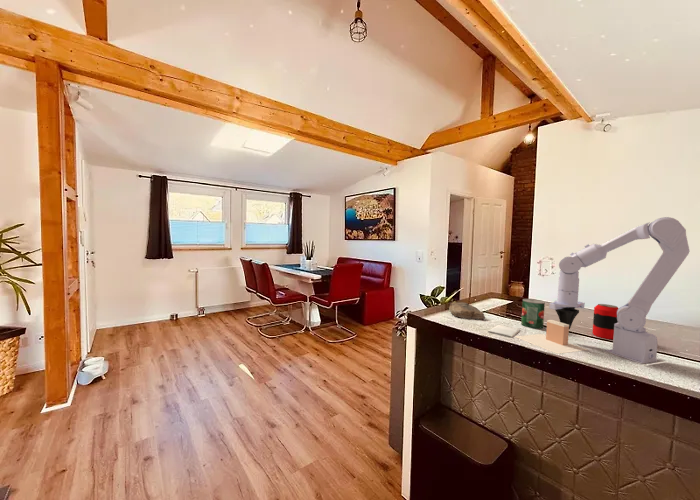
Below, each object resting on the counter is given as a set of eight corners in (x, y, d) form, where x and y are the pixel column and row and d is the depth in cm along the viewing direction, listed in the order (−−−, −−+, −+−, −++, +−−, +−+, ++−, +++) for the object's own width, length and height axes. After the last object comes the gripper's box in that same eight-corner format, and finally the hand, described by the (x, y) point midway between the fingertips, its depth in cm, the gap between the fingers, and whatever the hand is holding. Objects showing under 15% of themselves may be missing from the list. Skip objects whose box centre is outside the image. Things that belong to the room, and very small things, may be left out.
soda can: (588, 334, 112) (590, 304, 111) (597, 332, 115) (600, 302, 115) (613, 341, 105) (615, 308, 105) (622, 338, 109) (624, 307, 108)
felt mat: (588, 351, 94) (588, 349, 94) (557, 355, 90) (557, 353, 90) (542, 334, 110) (542, 333, 110) (514, 337, 105) (514, 336, 105)
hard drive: (511, 336, 104) (520, 328, 113) (487, 330, 109) (497, 323, 118) (511, 340, 104) (519, 332, 113) (487, 334, 109) (497, 327, 119)
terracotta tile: (567, 344, 98) (569, 324, 98) (562, 345, 98) (564, 325, 97) (550, 338, 104) (552, 319, 104) (545, 339, 103) (547, 320, 103)
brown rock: (445, 308, 149) (452, 317, 130) (446, 298, 149) (452, 307, 130) (474, 310, 147) (485, 321, 127) (474, 301, 147) (486, 310, 127)
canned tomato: (547, 330, 115) (548, 303, 115) (526, 328, 117) (527, 302, 116) (537, 324, 123) (539, 299, 123) (517, 323, 124) (519, 298, 124)
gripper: (571, 288, 107) (568, 323, 108) (542, 289, 103) (539, 326, 104) (591, 291, 101) (589, 329, 101) (561, 292, 96) (559, 332, 97)
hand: (565, 328), depth 102 cm, fingers closed
